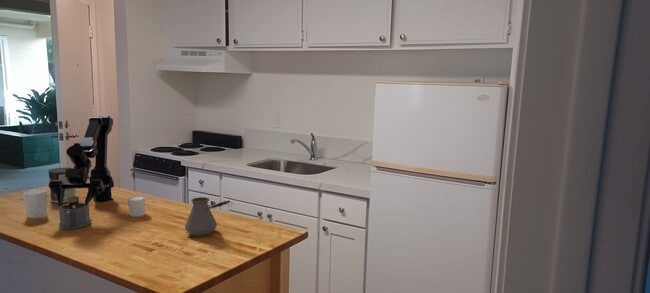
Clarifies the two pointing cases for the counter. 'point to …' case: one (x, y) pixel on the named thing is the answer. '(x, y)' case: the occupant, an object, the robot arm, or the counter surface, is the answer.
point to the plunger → (73, 201)
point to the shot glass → (136, 206)
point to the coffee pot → (202, 217)
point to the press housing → (74, 216)
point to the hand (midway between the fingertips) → (72, 205)
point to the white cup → (36, 203)
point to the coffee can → (60, 175)
